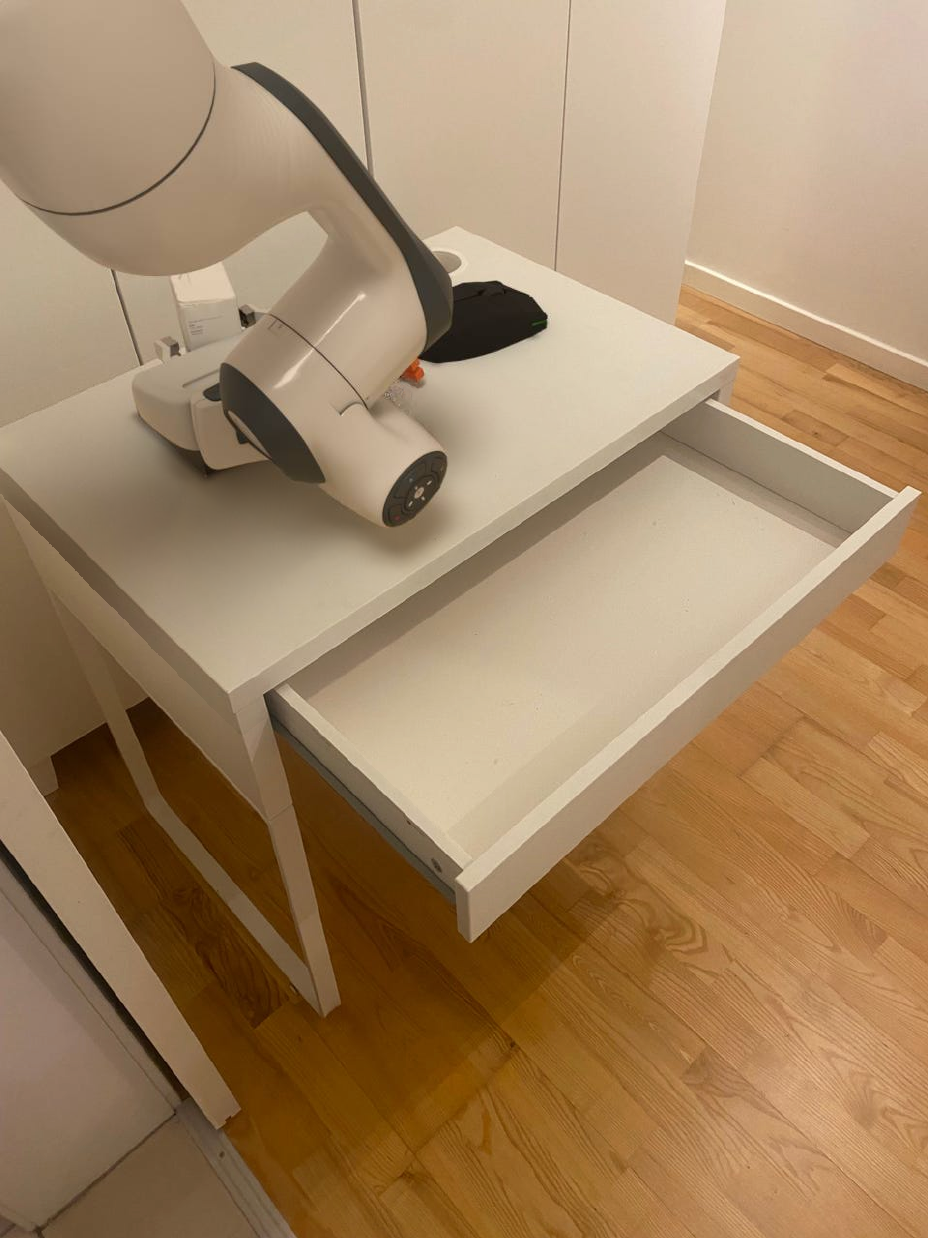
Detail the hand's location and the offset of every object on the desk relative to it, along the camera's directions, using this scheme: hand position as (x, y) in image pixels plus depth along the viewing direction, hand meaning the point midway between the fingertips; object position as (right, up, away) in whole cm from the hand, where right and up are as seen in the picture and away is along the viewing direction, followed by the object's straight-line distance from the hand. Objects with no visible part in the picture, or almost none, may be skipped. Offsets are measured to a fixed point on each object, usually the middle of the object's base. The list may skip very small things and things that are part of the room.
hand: (203, 328), depth 86 cm
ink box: (+1, -5, +5) cm, 7 cm away
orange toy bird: (+13, -1, +12) cm, 18 cm away
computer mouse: (+24, +6, +19) cm, 31 cm away
